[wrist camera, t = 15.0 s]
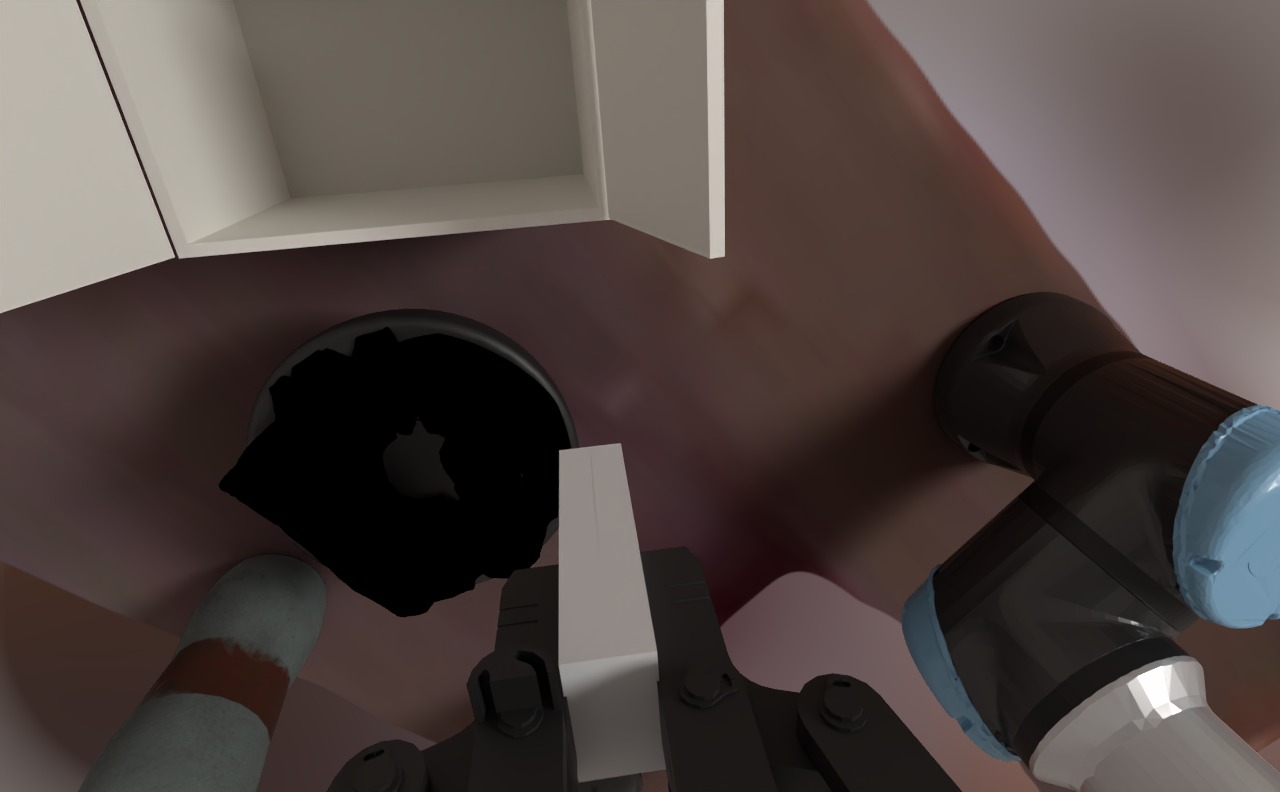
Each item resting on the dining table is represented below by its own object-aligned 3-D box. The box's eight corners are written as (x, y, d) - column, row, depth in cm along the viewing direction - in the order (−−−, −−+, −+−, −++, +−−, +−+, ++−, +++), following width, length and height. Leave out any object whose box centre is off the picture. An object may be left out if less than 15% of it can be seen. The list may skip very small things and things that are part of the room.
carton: (565, -111, 37) (577, -212, 24) (592, 181, 44) (612, 219, 31) (197, -96, 35) (4, -197, 22) (287, 207, 42) (179, 258, 29)
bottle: (292, 531, 52) (30, 996, 26) (356, 605, 56) (188, 1073, 30) (190, 575, 53) (-171, 1076, 26) (261, 645, 57) (13, 1141, 30)
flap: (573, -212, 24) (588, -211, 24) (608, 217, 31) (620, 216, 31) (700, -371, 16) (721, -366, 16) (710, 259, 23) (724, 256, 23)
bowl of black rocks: (605, 463, 54) (634, 635, 37) (378, 537, 54) (304, 742, 37) (518, 233, 45) (504, 322, 28) (246, 322, 45) (68, 464, 28)
